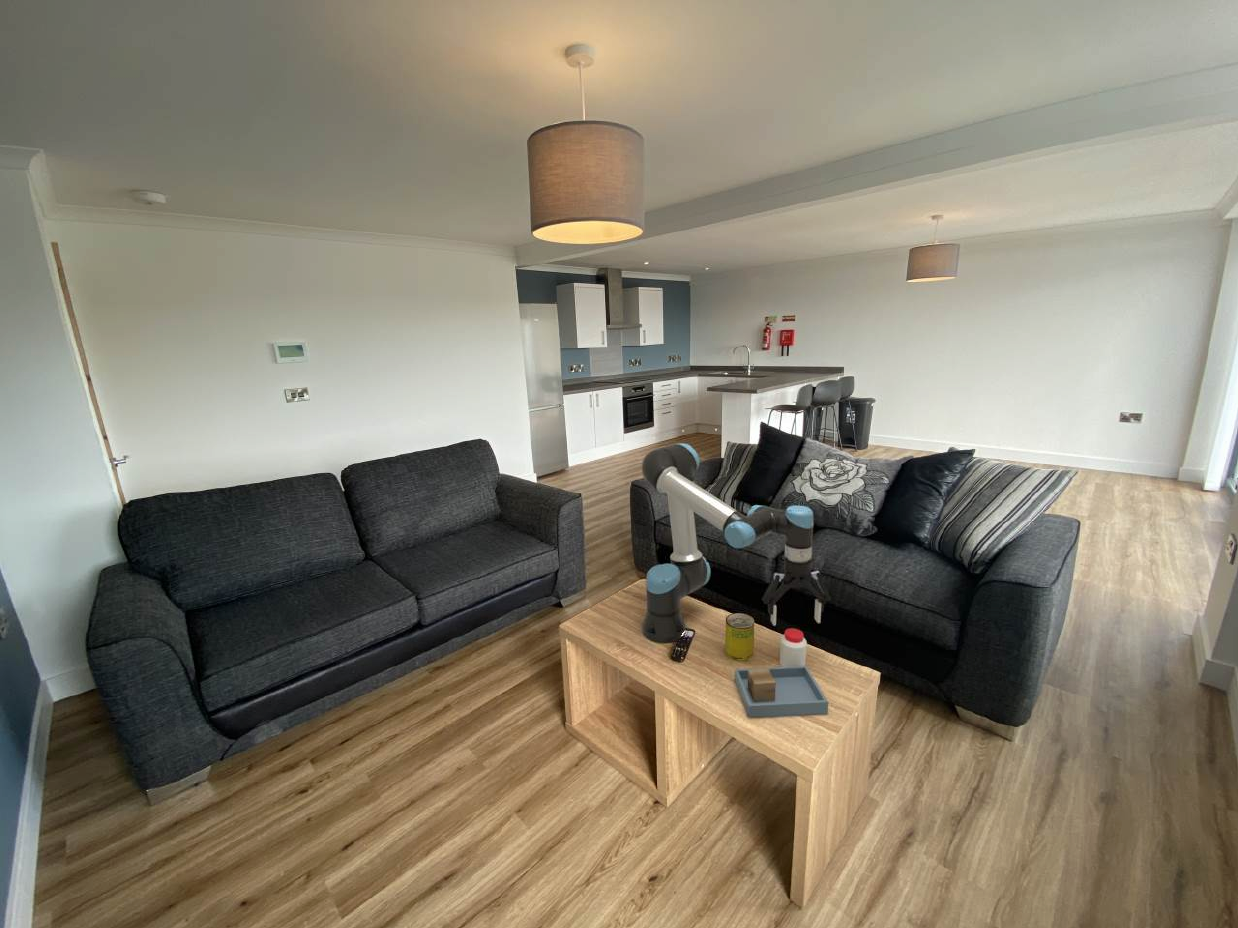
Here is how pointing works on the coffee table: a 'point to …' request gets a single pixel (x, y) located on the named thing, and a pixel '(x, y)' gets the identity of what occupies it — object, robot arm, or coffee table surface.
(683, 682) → the coffee table surface
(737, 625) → the beverage can
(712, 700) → the coffee table surface
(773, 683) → the walnut cube
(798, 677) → the blue-grey tray
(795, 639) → the pill bottle
